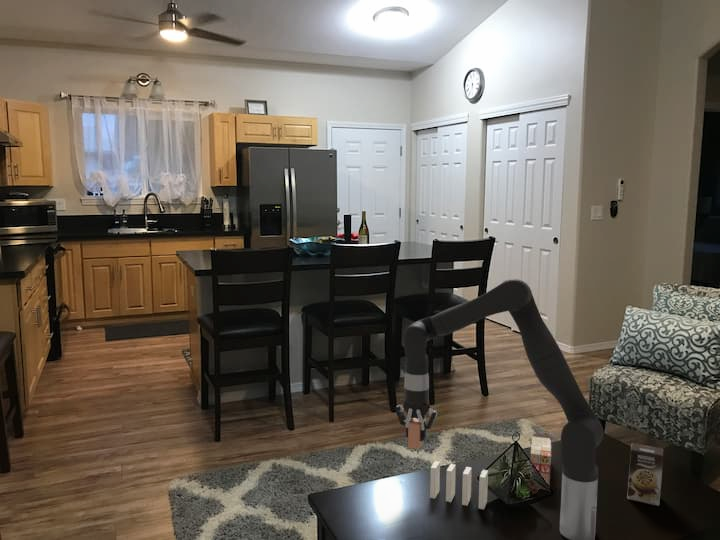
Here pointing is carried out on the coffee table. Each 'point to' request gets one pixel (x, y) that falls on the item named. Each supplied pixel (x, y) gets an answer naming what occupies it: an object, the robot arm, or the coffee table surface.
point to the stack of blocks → (541, 456)
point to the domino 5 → (483, 489)
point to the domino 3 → (450, 482)
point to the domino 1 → (414, 434)
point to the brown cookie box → (645, 474)
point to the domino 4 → (466, 486)
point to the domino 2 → (435, 479)
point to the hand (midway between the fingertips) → (415, 439)
